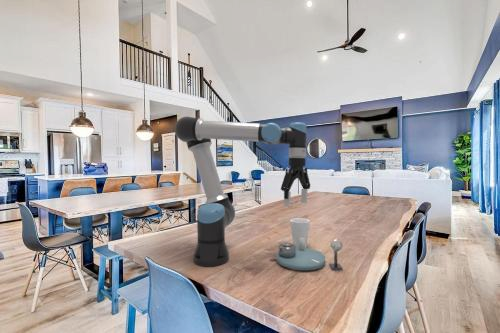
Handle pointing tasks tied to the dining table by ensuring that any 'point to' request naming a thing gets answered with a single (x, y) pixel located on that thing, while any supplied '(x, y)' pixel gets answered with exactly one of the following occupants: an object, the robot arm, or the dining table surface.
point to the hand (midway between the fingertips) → (295, 204)
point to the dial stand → (336, 246)
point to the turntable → (303, 258)
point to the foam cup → (299, 230)
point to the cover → (287, 250)
